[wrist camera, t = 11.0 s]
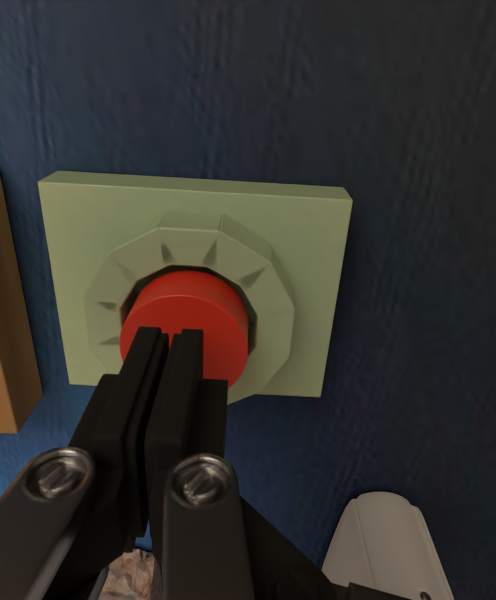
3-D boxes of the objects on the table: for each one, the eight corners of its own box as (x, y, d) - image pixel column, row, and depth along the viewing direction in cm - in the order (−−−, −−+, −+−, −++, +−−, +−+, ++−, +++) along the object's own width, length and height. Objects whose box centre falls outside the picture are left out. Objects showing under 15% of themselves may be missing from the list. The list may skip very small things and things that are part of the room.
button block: (344, 187, 16) (366, 216, 13) (315, 372, 20) (327, 430, 16) (57, 170, 16) (9, 196, 13) (83, 360, 19) (51, 416, 16)
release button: (251, 272, 14) (251, 298, 12) (245, 372, 16) (244, 405, 14) (129, 266, 14) (113, 290, 12) (136, 366, 16) (123, 399, 14)
